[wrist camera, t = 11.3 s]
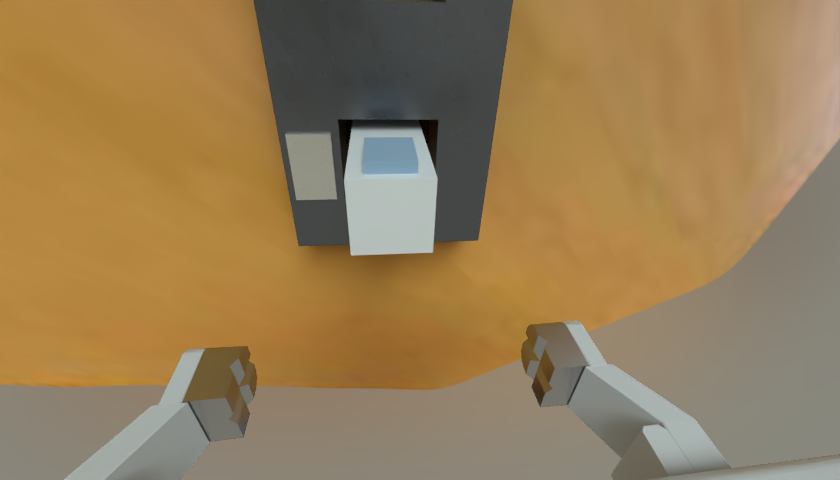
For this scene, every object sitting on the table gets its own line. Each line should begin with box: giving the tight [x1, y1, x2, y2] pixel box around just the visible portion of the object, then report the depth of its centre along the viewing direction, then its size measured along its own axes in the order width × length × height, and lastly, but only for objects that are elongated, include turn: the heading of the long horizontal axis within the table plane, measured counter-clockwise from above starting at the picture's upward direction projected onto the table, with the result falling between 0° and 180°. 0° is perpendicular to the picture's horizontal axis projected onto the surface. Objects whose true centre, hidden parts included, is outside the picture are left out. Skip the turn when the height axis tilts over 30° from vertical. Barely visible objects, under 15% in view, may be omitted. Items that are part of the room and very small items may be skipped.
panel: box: [254, 0, 513, 246], centre depth 21 cm, size 12×22×4 cm, turn 178°
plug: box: [344, 119, 438, 256], centre depth 21 cm, size 4×5×10 cm
